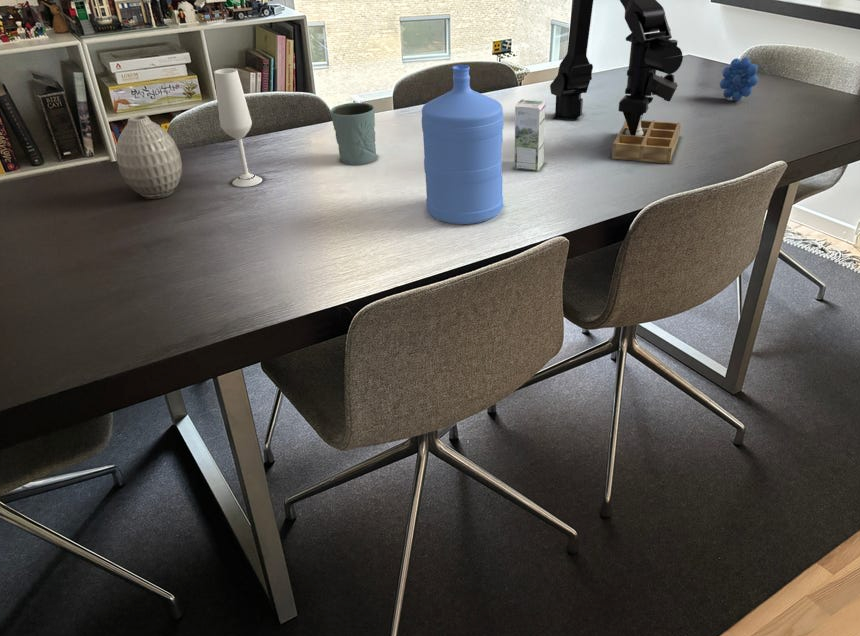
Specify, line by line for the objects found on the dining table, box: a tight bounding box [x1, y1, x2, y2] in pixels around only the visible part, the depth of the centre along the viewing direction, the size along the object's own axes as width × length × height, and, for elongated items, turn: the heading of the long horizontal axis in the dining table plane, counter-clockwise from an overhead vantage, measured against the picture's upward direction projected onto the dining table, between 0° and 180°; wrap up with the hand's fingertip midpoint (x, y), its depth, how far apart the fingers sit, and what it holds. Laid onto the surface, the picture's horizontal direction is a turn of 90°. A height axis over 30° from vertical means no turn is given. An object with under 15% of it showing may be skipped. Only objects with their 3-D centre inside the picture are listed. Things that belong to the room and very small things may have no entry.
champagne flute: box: [213, 67, 263, 188], centre depth 163 cm, size 7×7×24 cm
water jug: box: [421, 64, 504, 225], centre depth 145 cm, size 16×16×28 cm
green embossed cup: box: [330, 102, 377, 166], centre depth 177 cm, size 10×10×12 cm
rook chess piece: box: [625, 115, 643, 136], centre depth 180 cm, size 4×4×8 cm
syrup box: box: [514, 99, 547, 172], centre depth 169 cm, size 6×6×14 cm
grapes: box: [719, 56, 759, 102], centre depth 210 cm, size 12×7×12 cm, turn 37°
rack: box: [611, 119, 682, 164], centre depth 181 cm, size 13×20×4 cm
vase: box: [115, 114, 183, 200], centre depth 160 cm, size 13×13×17 cm
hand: (634, 132), depth 181 cm, fingers closed on rook chess piece, 4 cm apart
